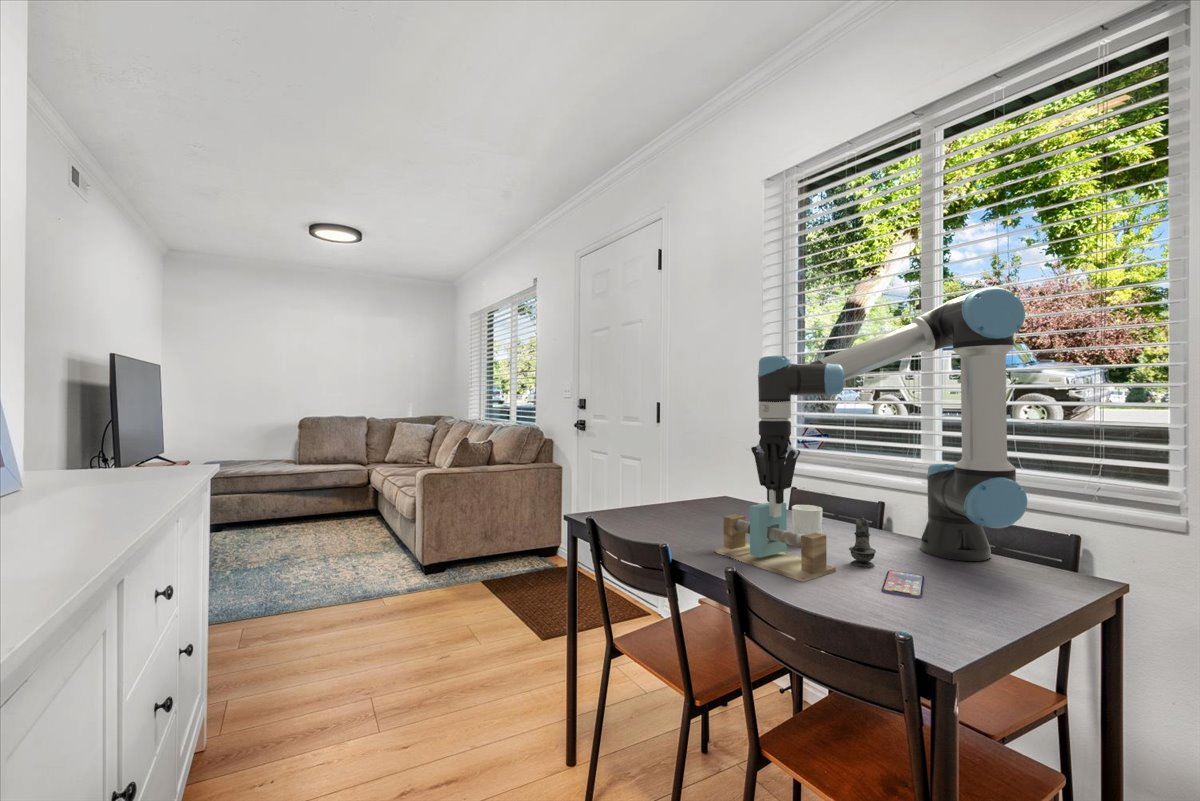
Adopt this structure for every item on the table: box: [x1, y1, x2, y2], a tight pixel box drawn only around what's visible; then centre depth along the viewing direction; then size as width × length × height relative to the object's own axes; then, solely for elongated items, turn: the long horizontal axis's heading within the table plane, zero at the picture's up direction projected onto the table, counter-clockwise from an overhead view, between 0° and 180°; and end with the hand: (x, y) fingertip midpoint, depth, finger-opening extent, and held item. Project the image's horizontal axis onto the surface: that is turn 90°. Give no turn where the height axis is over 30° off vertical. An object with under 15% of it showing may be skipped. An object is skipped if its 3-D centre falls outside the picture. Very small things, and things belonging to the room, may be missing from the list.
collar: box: [749, 501, 788, 558], centre depth 134 cm, size 3×10×12 cm, turn 123°
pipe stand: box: [713, 513, 837, 583], centre depth 134 cm, size 27×12×9 cm, turn 33°
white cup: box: [791, 504, 823, 535], centre depth 149 cm, size 8×8×10 cm
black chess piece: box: [848, 514, 877, 569], centre depth 131 cm, size 6×6×12 cm
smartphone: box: [881, 569, 925, 599], centre depth 117 cm, size 1×7×15 cm
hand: (775, 516), depth 133 cm, fingers closed
